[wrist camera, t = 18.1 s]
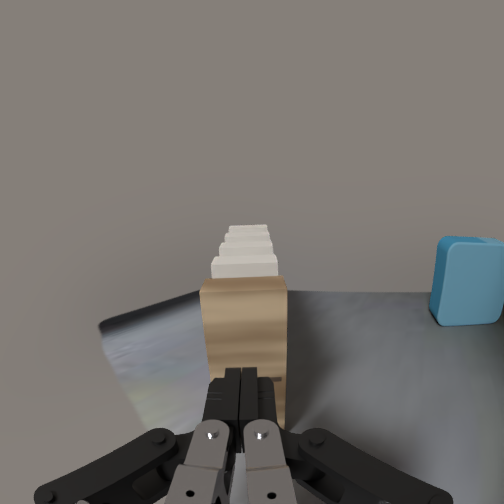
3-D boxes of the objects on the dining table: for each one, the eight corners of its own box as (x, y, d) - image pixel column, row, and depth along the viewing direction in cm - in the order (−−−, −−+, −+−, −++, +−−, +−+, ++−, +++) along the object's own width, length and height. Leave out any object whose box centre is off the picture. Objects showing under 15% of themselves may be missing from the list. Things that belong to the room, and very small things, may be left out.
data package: (487, 311, 34) (500, 238, 32) (499, 323, 30) (515, 245, 27) (427, 313, 38) (437, 235, 35) (435, 327, 33) (449, 242, 30)
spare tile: (283, 437, 20) (287, 288, 16) (220, 439, 20) (199, 292, 16) (281, 417, 22) (282, 275, 19) (222, 419, 22) (205, 278, 19)
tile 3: (274, 362, 30) (272, 246, 27) (228, 364, 30) (219, 248, 27) (273, 350, 33) (271, 240, 30) (230, 352, 33) (221, 242, 30)
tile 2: (278, 395, 25) (277, 262, 22) (224, 396, 25) (211, 264, 22) (276, 379, 27) (275, 254, 24) (226, 381, 27) (214, 256, 24)
